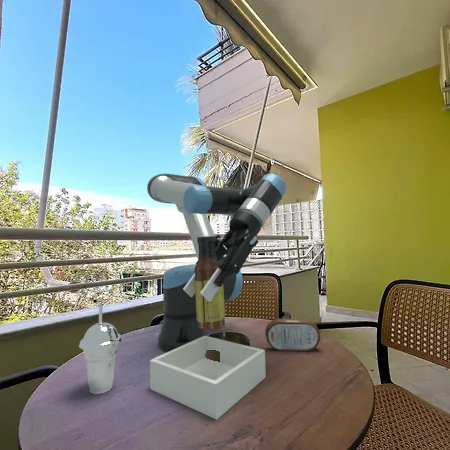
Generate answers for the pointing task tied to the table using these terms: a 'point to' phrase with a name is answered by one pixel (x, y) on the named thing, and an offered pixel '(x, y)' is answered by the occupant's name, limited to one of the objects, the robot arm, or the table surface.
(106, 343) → the cup with straw
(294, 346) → the tin
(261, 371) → the box
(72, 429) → the table surface
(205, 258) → the sauce bottle
